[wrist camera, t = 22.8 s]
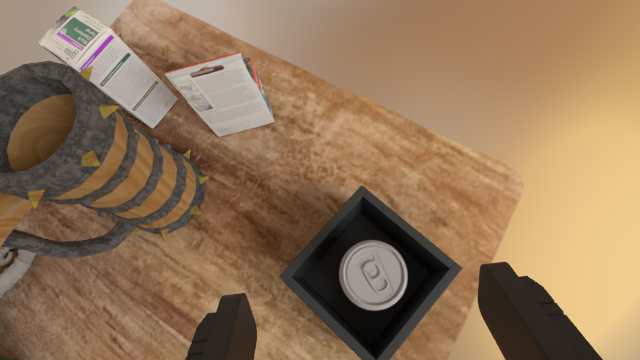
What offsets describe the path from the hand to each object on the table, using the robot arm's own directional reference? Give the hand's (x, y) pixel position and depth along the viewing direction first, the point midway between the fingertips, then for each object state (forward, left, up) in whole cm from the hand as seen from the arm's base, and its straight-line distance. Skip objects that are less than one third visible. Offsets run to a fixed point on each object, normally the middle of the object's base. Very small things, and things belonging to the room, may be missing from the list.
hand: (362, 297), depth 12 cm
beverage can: (0, -2, -28) cm, 28 cm away
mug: (+25, +10, -28) cm, 39 cm away
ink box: (+25, -6, -28) cm, 39 cm away
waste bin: (0, -2, -28) cm, 28 cm away
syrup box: (+37, +1, -28) cm, 47 cm away
